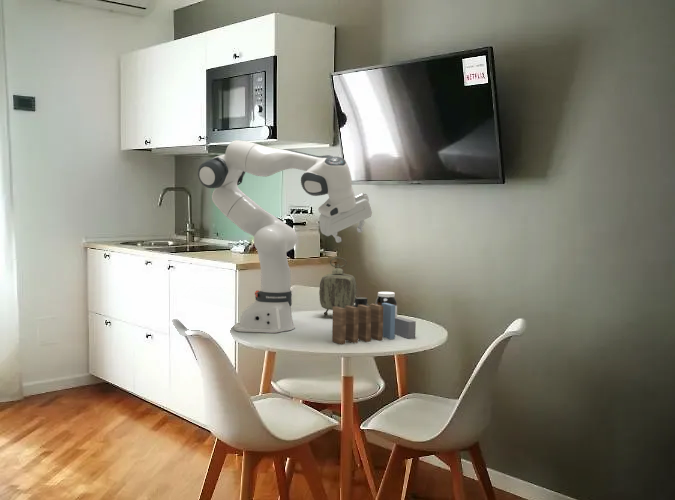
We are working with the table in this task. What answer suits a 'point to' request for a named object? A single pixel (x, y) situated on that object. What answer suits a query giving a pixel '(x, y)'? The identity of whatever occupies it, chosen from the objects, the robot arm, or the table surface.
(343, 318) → the domino
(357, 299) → the supplement bottle
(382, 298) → the spread jar
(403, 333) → the end stop
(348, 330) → the domino
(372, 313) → the domino
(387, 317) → the domino
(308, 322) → the table surface
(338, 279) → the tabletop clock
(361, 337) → the domino
